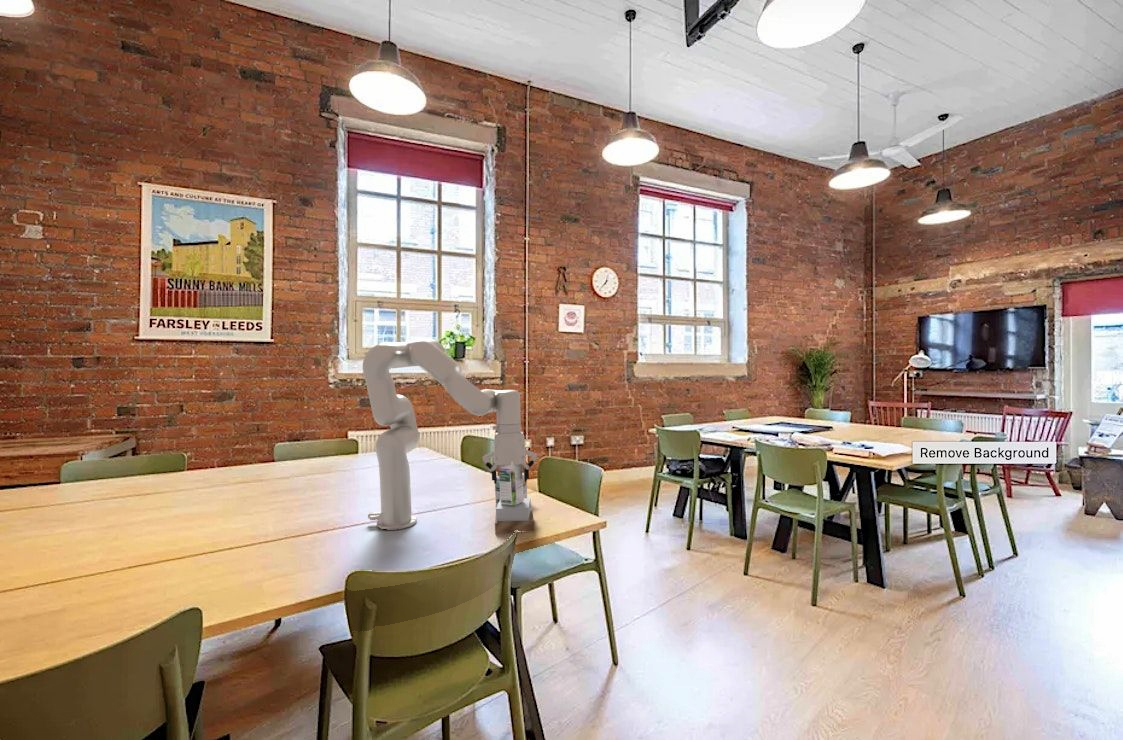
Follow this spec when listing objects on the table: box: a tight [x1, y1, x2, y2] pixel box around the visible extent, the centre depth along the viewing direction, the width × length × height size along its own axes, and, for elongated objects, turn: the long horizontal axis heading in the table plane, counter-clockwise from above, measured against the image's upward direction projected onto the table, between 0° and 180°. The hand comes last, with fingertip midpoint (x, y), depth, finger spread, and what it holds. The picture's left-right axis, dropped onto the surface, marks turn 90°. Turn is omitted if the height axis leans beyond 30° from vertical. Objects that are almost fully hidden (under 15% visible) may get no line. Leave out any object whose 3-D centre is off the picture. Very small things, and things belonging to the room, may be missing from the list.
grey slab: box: [495, 497, 532, 521], centre depth 160 cm, size 10×10×4 cm
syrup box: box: [497, 461, 524, 506], centre depth 160 cm, size 6×6×14 cm
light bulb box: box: [494, 472, 528, 507], centre depth 182 cm, size 11×7×11 cm, turn 143°
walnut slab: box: [494, 507, 535, 535], centre depth 160 cm, size 12×12×4 cm
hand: (510, 481), depth 159 cm, fingers open, 9 cm apart
